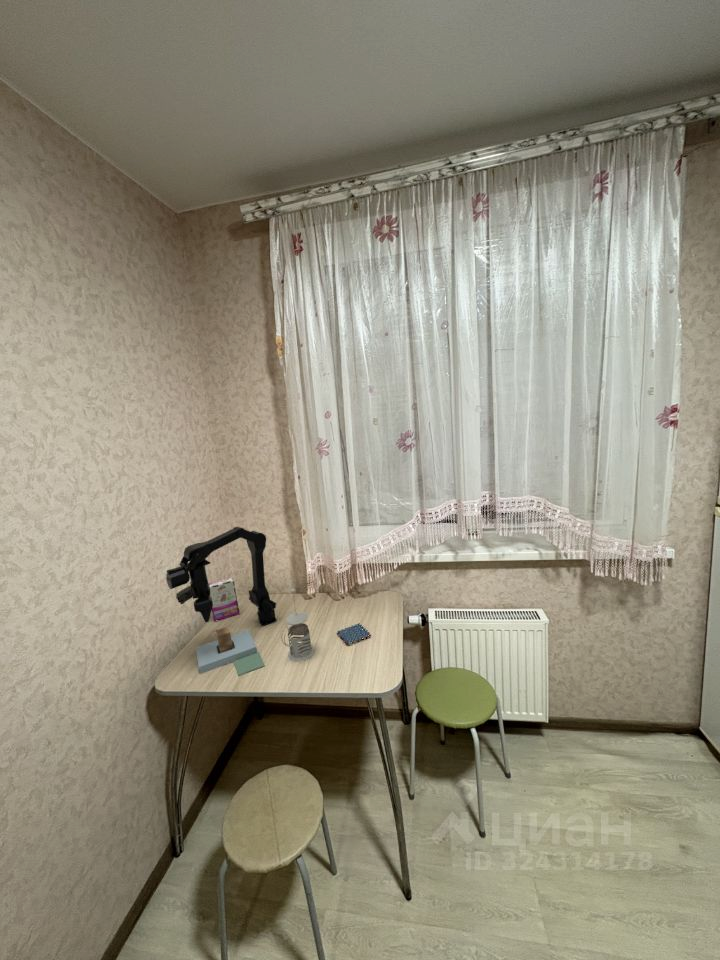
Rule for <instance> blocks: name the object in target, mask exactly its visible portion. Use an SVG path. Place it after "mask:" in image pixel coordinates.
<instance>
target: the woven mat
mask: <svg viewBox="0 0 720 960" xmlns="http://www.w3.org/2000/svg"><path fill="white" fill-rule="evenodd" d="M362 629H363V630H362ZM336 635H337V637H338V638H339V639H341V641H342V640H343V641H344V642H343V641H342V642H343V644H344V645H345V646H347V645H349V646H352V645H353V643H354V644H358V641H360V640H362V638H363V639H365V638H366V637H367V638H368V637H370V638H371V637H372V634H371V632H369V631H368V630H367V629H366V628H365V626H363V625H362V624H361V623H360V622H358V623H355V624H354V625H351V626H348V627H345V628H343V629H340V630H338V631H337V633H336ZM338 635H339V636H338ZM368 635H369V636H368ZM365 640H366V639H365ZM362 641H363V640H362ZM351 642H352V643H351ZM360 642H361V641H360Z"/></svg>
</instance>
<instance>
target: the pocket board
mask: <svg viewBox="0 0 720 960" xmlns="http://www.w3.org/2000/svg"><path fill="white" fill-rule="evenodd" d="M231 640H232V646H233V649H231V650H228V651H226V652H223V653H220V651H219V645H218V639H216V640H213V641H210V642H207V643H205V644H201V645H199V646H196V647H195V650H196V657H197V663H198V665H197V666H198V671H199V674H202V673H207V672H208V671H211V670H214V669H216V668H219V667H221V666H225V665H228V664H231V663H234V661H236V660H238V659H241V658H244V657H247V656H250V655H252V654H255V653H258V648H257V645H256V642H255V641H254V637H253V635H252V633H251V631H250V629H247V630H243V631H240V632H237V633H235V634H231Z"/></svg>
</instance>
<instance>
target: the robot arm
mask: <svg viewBox="0 0 720 960" xmlns="http://www.w3.org/2000/svg"><path fill="white" fill-rule="evenodd" d="M240 538H241V539H244V540H245V541H246V544H247V547H248V550H249V552H250V554H251V557H250V558H251V569H252V572H251V573H252V585H253V586H252V588H251V589H249V590H248V594H249V597H248V600H250V603H251V604H253V605H255V607H256V608H257V612H256V616H257V621H258V623H259V624H260V626H266V625H269V624H273V623H276V622H277V621H278V620H277V618H276V614H275V611H276V610H275V609H276V606H277V603H276V602H275V601H274V600H272V599H271V598H270V594H269V591H268V589H267V587H266V579H265V561H264V552H265V549H266V547H267V546H266V544H267V536H266V534H264V533H262V532H259V531H256V530H251V531H250V530H248V529H245V528H244V527H240V526H235V527H233V528H231V529H228V530H227V531H226V532H223V533H221V534H218V536H215V537H213V538H211V539H209V540H207V541H203V542H197V543H194V544H191V545H188V546H186V547H185V549H184V551H183V555H182V556H183V557H182V558H181V560H180V563H179V564H178V565H179V566H177V567H175V568H170V569H167V570H166V576H165V580H166V584H167V586H168V588H169V589H170V590H173V589H176V588H178V587H181V586H183V585H186V584H188V583H190V585H188V586H186V587H185V588H184V589H182V590H180V591H179V592H177V593H176V595H175V597H176V600H177V602H178V603H179V604H181V605H184V604H185V603H186V602H187V601H189V600H190V599H193V600H194V599H195V600H194V602H193V609H194V612H197V613H200V615H201V617H202V618H203V620H204V622H205V623H208V622H210V617H211V615H212V607H213V602H212V598H211V597H210V586H209V580H208V575H207V569H206V566H209V565H210V564H211V561H209V560H207V558H208V557H209V556H210V555H211V554H212V553H213V552H215V551H217V550H218V549H221V548H223V547H225V546H227V545H229V544H231V543H233V542H235V541H236V540H238V539H240Z"/></svg>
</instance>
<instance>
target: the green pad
mask: <svg viewBox="0 0 720 960" xmlns="http://www.w3.org/2000/svg"><path fill="white" fill-rule="evenodd" d="M233 663H234V665H235V669H236V672H237V675H238V677H240V676H242V675H245V674H248V673H251V672H254V671H256V670H259V669H261V668H264V667H265V662H264V660H263V658H262V656H261V653H260V652H258V651H257V653H255V654H252V655H250V656H247V657H244V658H241V659H238V660H236V661H234V662H233Z"/></svg>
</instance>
